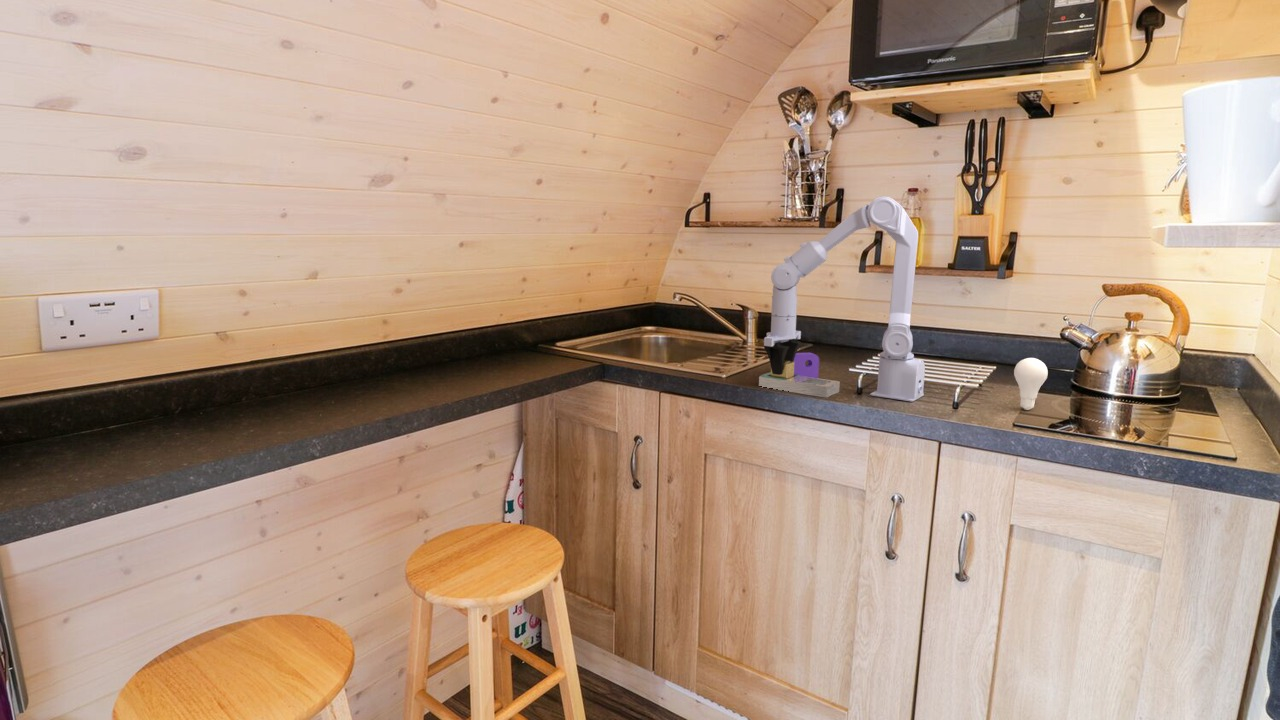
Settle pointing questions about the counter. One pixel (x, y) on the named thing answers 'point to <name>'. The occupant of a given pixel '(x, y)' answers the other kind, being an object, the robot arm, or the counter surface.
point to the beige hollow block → (786, 370)
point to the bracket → (809, 369)
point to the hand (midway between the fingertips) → (781, 372)
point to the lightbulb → (1030, 380)
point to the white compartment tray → (801, 385)
